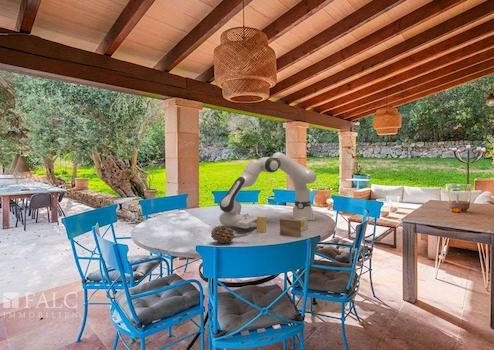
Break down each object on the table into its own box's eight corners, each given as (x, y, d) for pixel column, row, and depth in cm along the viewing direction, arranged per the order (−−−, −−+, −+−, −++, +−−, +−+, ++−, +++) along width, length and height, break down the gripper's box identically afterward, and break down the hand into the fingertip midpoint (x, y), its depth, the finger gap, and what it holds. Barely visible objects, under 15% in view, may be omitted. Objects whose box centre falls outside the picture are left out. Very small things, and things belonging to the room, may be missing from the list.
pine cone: (210, 246, 156) (210, 228, 156) (211, 241, 166) (211, 224, 165) (250, 244, 159) (250, 227, 158) (248, 239, 168) (248, 223, 167)
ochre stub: (259, 230, 187) (259, 215, 186) (266, 231, 184) (266, 216, 184) (257, 231, 184) (257, 216, 183) (264, 232, 182) (264, 217, 181)
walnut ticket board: (282, 233, 180) (282, 218, 179) (300, 236, 174) (300, 219, 174) (280, 235, 176) (280, 219, 175) (298, 237, 171) (298, 221, 170)
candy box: (305, 228, 192) (305, 216, 191) (307, 229, 190) (308, 217, 190) (292, 234, 179) (292, 221, 178) (295, 234, 178) (295, 221, 177)
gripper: (233, 219, 181) (253, 221, 174) (248, 213, 199) (266, 215, 193) (233, 229, 181) (253, 231, 175) (248, 222, 199) (266, 224, 193)
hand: (260, 223), depth 184 cm, fingers open, 8 cm apart
